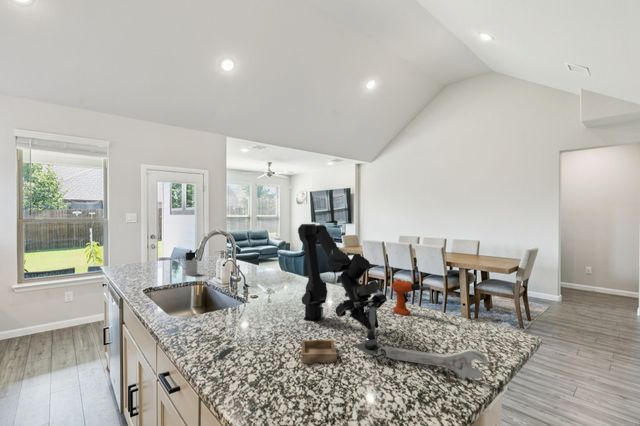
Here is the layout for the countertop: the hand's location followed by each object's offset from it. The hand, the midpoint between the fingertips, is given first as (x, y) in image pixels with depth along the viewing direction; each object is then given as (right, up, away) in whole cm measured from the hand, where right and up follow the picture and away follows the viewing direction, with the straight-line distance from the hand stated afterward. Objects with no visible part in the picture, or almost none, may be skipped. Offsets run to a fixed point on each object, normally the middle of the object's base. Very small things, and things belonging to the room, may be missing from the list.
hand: (374, 328), depth 99 cm
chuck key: (-1, -7, +1) cm, 7 cm away
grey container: (-110, -6, +118) cm, 161 cm away
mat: (-1, -7, +1) cm, 7 cm away
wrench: (+13, -8, -11) cm, 19 cm away
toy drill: (+22, -8, +35) cm, 42 cm away
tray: (-18, -7, -4) cm, 19 cm away
